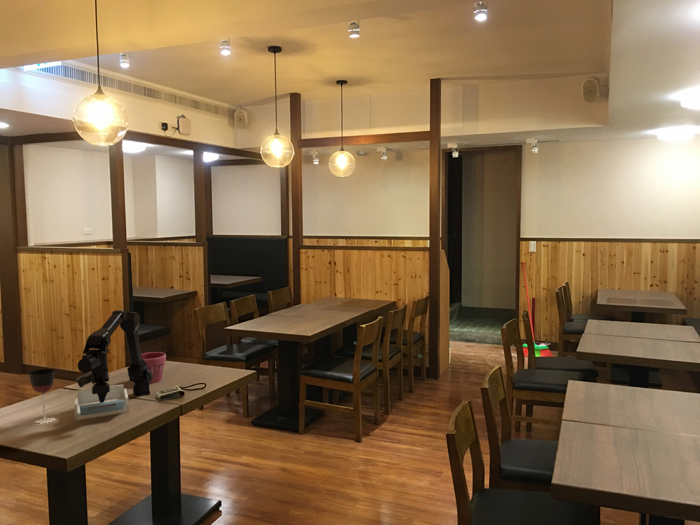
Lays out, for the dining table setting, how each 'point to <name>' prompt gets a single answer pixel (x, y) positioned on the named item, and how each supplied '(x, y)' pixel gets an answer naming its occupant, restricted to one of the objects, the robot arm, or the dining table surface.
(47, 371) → the wineglass
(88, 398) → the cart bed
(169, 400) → the dining table surface
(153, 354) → the plant pot
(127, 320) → the robot arm
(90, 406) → the tailgate
